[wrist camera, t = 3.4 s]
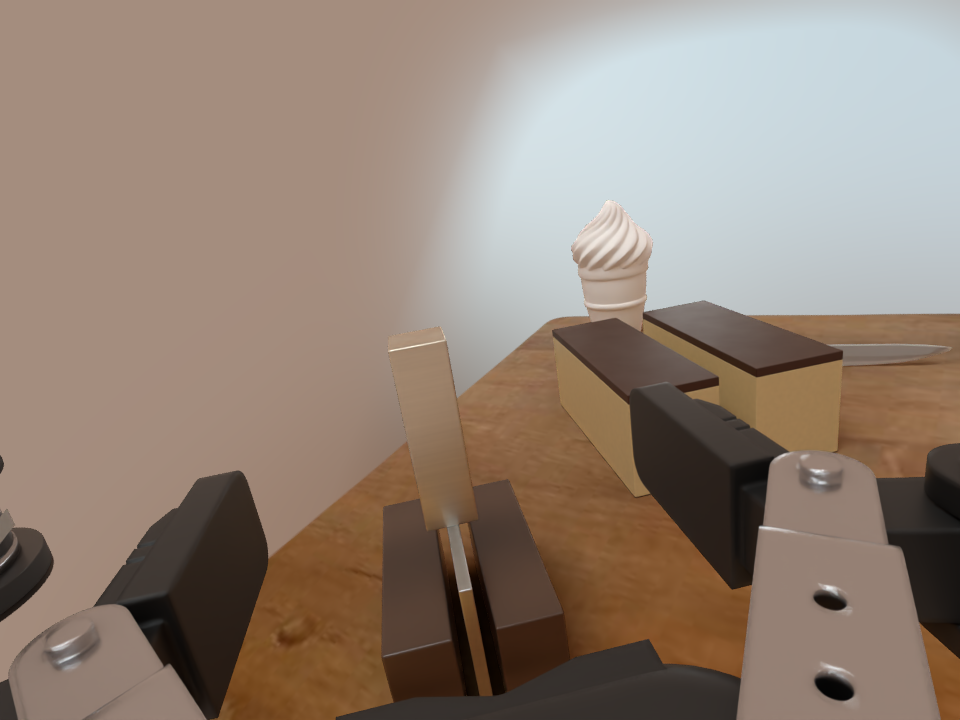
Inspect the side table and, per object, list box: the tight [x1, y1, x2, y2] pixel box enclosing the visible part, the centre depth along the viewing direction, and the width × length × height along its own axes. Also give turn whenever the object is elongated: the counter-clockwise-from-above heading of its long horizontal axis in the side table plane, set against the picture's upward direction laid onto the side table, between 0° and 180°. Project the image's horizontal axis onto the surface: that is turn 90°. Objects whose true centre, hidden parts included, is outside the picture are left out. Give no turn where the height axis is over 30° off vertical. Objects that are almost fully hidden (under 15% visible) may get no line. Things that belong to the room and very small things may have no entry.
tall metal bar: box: [388, 327, 493, 696], centre depth 24 cm, size 10×2×15 cm, turn 9°
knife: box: [829, 344, 953, 366], centre depth 48 cm, size 15×1×2 cm, turn 67°
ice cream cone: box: [571, 200, 653, 332], centre depth 59 cm, size 8×8×16 cm
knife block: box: [382, 479, 570, 703], centre depth 26 cm, size 10×7×5 cm
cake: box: [552, 301, 843, 497], centre depth 42 cm, size 16×14×7 cm
